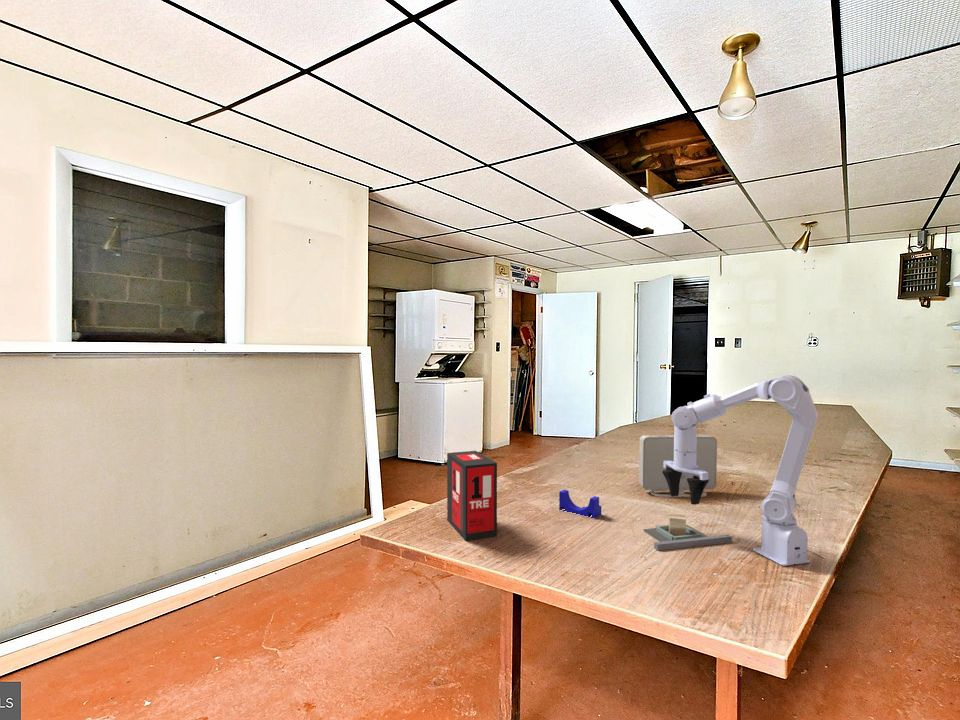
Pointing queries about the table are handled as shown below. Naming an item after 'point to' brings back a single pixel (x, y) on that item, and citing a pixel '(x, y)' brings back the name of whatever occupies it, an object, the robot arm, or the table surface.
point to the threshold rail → (692, 542)
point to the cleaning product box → (472, 495)
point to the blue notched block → (569, 506)
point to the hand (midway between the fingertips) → (684, 499)
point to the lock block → (677, 524)
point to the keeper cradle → (663, 535)
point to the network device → (662, 449)
